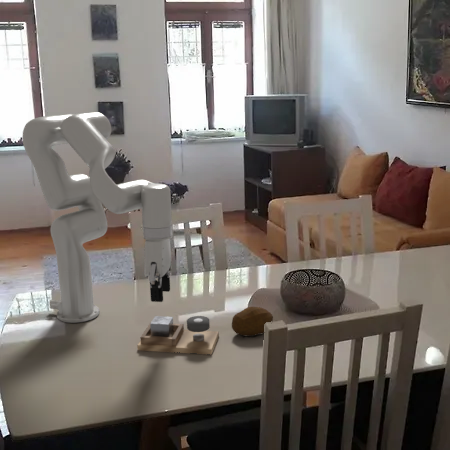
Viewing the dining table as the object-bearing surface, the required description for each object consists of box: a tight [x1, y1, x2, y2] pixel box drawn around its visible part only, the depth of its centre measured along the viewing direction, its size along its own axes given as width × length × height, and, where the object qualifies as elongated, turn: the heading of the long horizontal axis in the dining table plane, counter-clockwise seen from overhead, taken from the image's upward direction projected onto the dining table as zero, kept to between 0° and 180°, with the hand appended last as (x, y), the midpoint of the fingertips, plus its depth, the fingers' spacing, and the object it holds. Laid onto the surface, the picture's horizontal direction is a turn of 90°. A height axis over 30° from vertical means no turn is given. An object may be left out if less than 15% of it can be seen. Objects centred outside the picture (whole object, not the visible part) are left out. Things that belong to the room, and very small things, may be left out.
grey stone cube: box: [149, 315, 174, 337], centre depth 167 cm, size 5×5×5 cm
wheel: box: [186, 315, 211, 332], centre depth 164 cm, size 6×6×2 cm
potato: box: [231, 306, 274, 337], centre depth 171 cm, size 8×12×8 cm, turn 120°
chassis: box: [136, 321, 220, 355], centre depth 166 cm, size 20×11×4 cm, turn 81°
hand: (160, 295), depth 164 cm, fingers open, 6 cm apart
